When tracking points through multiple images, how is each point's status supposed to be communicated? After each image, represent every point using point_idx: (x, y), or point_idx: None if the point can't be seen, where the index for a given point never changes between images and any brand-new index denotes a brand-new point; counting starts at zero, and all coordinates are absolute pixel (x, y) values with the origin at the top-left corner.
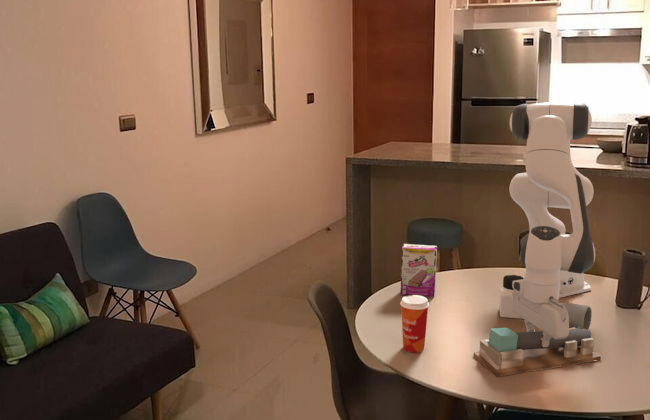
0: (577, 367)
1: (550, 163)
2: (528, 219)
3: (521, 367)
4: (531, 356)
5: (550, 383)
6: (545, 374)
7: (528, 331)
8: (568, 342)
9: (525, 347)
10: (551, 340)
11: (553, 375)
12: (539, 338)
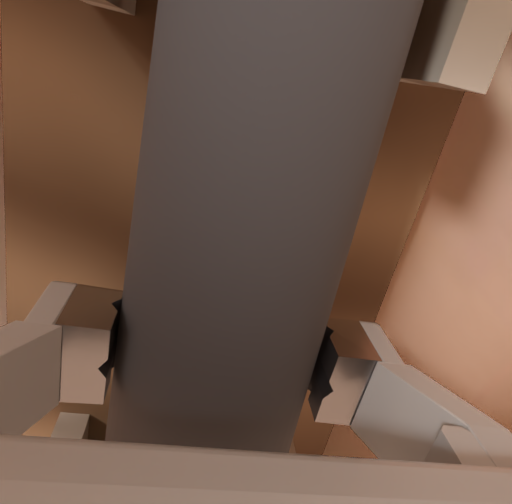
0: (502, 80)
1: None
2: None
3: (307, 447)
4: None
5: (486, 384)
6: (409, 344)
7: (65, 397)
8: (481, 53)
9: None
10: (347, 255)
11: (448, 315)
12: (299, 414)
